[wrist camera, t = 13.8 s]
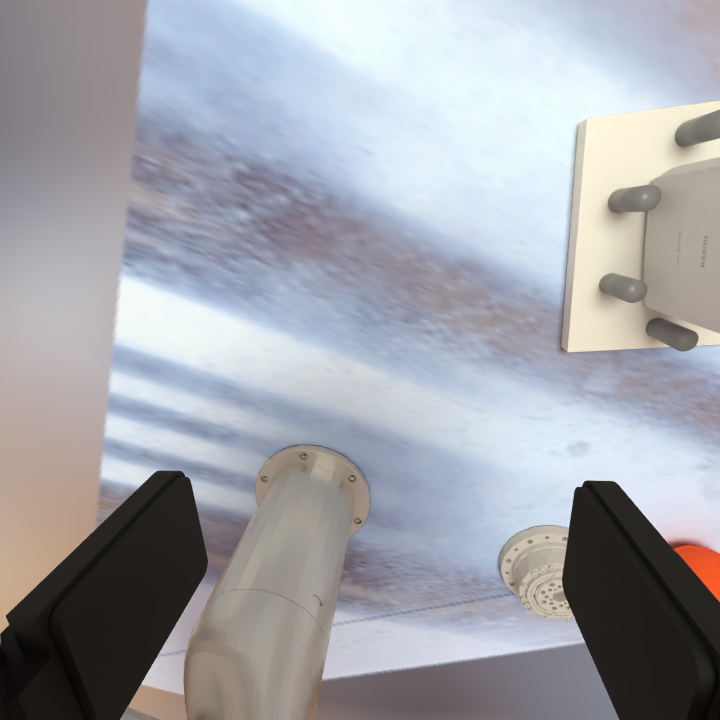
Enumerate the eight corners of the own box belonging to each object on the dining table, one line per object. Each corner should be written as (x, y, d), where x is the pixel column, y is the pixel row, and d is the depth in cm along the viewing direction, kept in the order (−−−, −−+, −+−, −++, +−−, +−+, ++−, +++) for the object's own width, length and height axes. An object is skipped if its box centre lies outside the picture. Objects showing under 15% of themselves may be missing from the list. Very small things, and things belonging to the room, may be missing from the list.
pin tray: (729, 337, 32) (785, 358, 27) (561, 346, 34) (585, 367, 29) (785, 95, 26) (867, 69, 21) (578, 123, 28) (611, 105, 23)
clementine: (740, 534, 38) (810, 601, 31) (716, 586, 40) (776, 658, 34) (652, 525, 39) (701, 589, 32) (633, 577, 41) (676, 646, 34)
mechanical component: (525, 603, 45) (611, 574, 42) (537, 643, 40) (633, 613, 37) (481, 545, 42) (568, 509, 39) (488, 580, 38) (586, 543, 35)
